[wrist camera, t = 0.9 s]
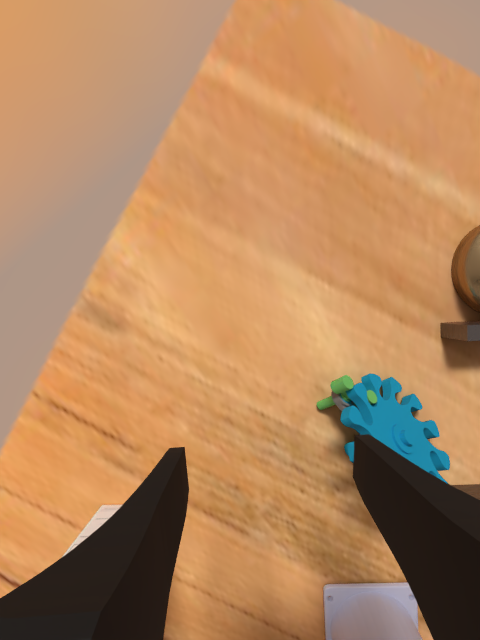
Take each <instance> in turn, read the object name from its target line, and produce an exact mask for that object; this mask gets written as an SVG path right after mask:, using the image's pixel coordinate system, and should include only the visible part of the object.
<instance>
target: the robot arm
mask: <svg viewBox="0 0 480 640" xmlns="http://www.w3.org/2000/svg"><path fill="white" fill-rule="evenodd" d="M353 478H354V481H355V483H356V485H357V488H358V490H359V493H360V495H361V497H362V499H363V502H364V504H365V505H366V507H367V509H368V511H369V513H370V514H371V516H372V518H373V520H374V522H375V523H376V525H377V527H378V529H379V530H380V532H381V534H382V536H383V537H384V539H385V541H386V543H387V544H388V546H389V548H390V550H391V551H392V553H393V555H394V557H395V558H396V560H397V562H398V564H399V566H400V568H401V570H402V572H403V573H404V576H405V578H406V580H407V582H408V583H361V584H327V585H325V586H324V587H323V598H324V619H325V640H423V639H422V637H421V636H420V634H419V632H418V610H417V603H418V606H419V608H420V610H421V612H422V615H423V617H424V619H425V621H426V624H427V626H428V628H429V630H430V633H431V635H432V637H433V639H434V640H480V500H479V499H477V498H475V497H473V496H471V495H469V494H467V493H465V492H463V491H461V490H459V489H457V488H455V487H453V486H451V485H449V484H448V483H446V482H444V481H442V480H440V479H439V478H437V477H435V476H434V475H432V474H430V473H428V472H427V471H425V470H423V469H422V468H420V467H419V466H417V465H415V464H414V463H412V462H411V461H409V460H408V459H406V458H405V457H403V456H401V455H400V454H398V453H397V452H395V451H394V450H392V449H391V448H389V447H388V446H386V445H385V444H383V443H382V442H380V441H379V440H377V439H376V438H374V437H373V436H371V435H369V434H365V435H355V437H354V464H353ZM188 493H189V485H188V476H187V466H186V457H185V447H179V448H170V449H169V450H168V451H167V452H166V453H165V455H164V456H163V457H162V459H161V460H160V461H159V463H158V464H157V465H156V467H155V468H154V469H153V470H152V472H151V473H150V474H149V475H148V477H147V478H146V479H145V480H144V481H143V483H142V484H141V485H140V486H139V487H138V489H137V490H136V491H135V492H134V493H133V494H132V495H131V496H130V498H129V499H128V500H127V501H126V502H125V503H124V504H123V505H122V506H121V507H120V508H119V509H118V510H117V511H116V512H115V513H114V514H113V515H112V516H111V517H110V518H109V519H108V520H107V521H106V522H105V523H104V524H103V525H102V526H100V527H99V528H98V529H97V530H96V531H94V532H93V533H92V534H91V535H90V536H88V537H87V538H86V539H85V540H84V541H82V542H81V543H80V544H79V545H78V546H76V547H75V548H74V549H73V550H71V551H70V552H69V553H67V554H66V555H65V556H63V557H62V558H61V559H59V560H58V561H57V562H55V563H54V564H52V565H51V566H50V567H48V568H47V569H45V570H44V571H42V572H41V573H39V574H38V575H36V576H35V577H33V578H32V579H30V580H29V581H27V582H26V583H24V584H22V585H21V586H19V587H18V588H16V589H15V590H13V591H11V592H10V593H8V594H7V595H5V596H3V597H2V598H0V640H163V635H164V628H165V621H166V613H167V606H168V599H169V592H170V587H171V582H172V576H173V572H174V567H175V563H176V558H177V554H178V549H179V545H180V540H181V536H182V531H183V527H184V522H185V517H186V511H187V502H188ZM409 595H410V596H409ZM328 596H331V597H328Z"/></svg>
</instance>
